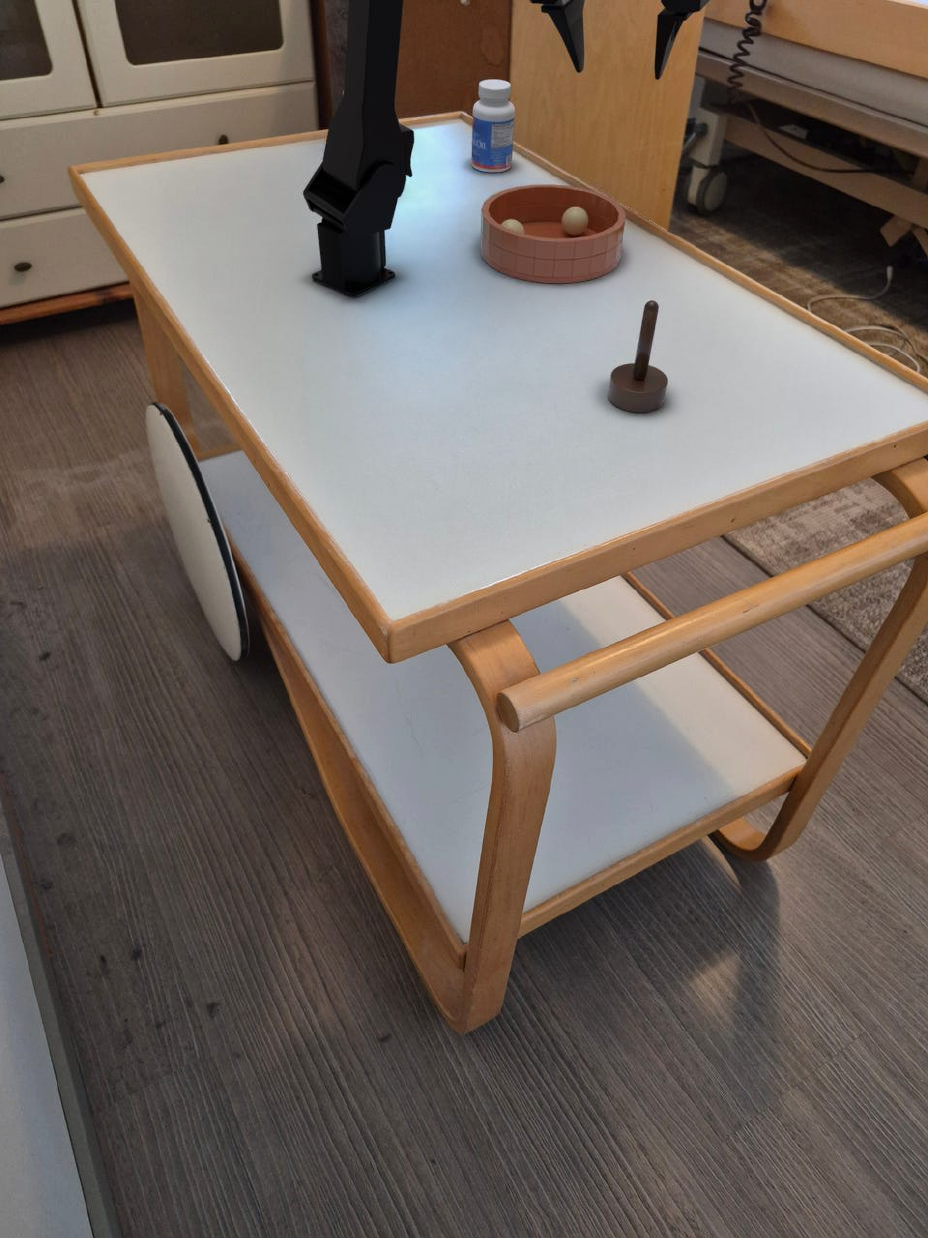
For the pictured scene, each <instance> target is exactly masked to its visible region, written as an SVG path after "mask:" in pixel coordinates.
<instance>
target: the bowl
mask: <svg viewBox="0 0 928 1238" xmlns="http://www.w3.org/2000/svg"><path fill="white" fill-rule="evenodd" d="M571 207H580V208H582V209H583V210H584V211H585V212H586V213H587V216H588V225H587V228H586V229H585V231H584V232H583V233H581V234H579V235H576V236H573V235H569V234H568V233H566V232H565V231H564V229H563V227H562V217H563V214H564V213H565V211H566V210H568V209H569V208H571ZM480 210H481V211H480V237H479V238H480V239H479V244H480V254H481V257H482V259H483V260H484V261H485V263H486V264H487V265H488V266H490V267H491V268H493V269H494V270H495V271H498V272H499V273H502V274H504V275H507V276H509V277H512V278H515V279H519V280H524V281H528V282H533V283H534V282H535V283H540V284H541V283H542V284H573V283H581V282H586V281H590V280H594V279H598V278H600V277H602V276H604V275H606V274H609V273H610V272H612V271H613V270H614V269H615V268H616V267H617V266H618V264H619V262H620V259H621V255H622V246H623V241H624V240H623V239H624V232H625V226H626V217H627V213H626V211H625V209H624V207H623V206H622V205H621V204H620V203H618V202H617V201H616V200H615V199H613V198H611V197H609V196H608V195H605V194H603V193H601V192H597V191H596V190H595V191H594V190H591V189H588V188H583V187H578V186H571V185H564V184H551V183H549V184H528V185H527V184H526V185H520V186H515V187H511V188H507V189H504V190H503V189H502V190H501V191H498V192H496V193H494V194H492V195H490V196H489V197H488V198H487V199H485V201H484V202H483V204H482V206H481V209H480ZM509 219H514V220H517V221H518V222H520V223H521V224H522V226H523V228H524V231H525V234H522V233H519V232H516V231H513V230H510V229H507V228H505V227H503V226H502V225H501V224H502V223H503V222H504V221H506V220H509Z"/></svg>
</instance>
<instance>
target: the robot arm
mask: <svg viewBox="0 0 928 1238" xmlns="http://www.w3.org/2000/svg"><path fill="white" fill-rule="evenodd" d="M710 1H711V0H660V3H661V5H662V6H663V9H661V11H660V12H659V13H657V16H656V17H657V18H656V34H655V35H656V36H655V48H654V49H655V50H654V52H655V53H654V65H653V68H654V69H653V70H654V79H655V80H657V81H659V80H660V79H661V78H662V77H663V75H664V71H665V69H666V66H667V63H668V60H669V58H670V55H671V53H672V49H673V47H674V45H675V41H676V39H677V36H678V34H679V32H680V30H681V27H682V26H683V23H684V22H686V21H688V19H689V18H690V17H691V16H692V15H693V14H694V13H698V12H701V10H703V9H704V7H705V6H707V4H708V3H709V2H710ZM585 2H586V0H529V3H531V4H535V5H541V6H540V11H541V13H543V14H547V15H548V16H549V18H550V19H551V22H552V23H553V25H554V27H555V29H556V31H557V32H558V34H559V36H560V37H561V40H562V43H563V44H564V47H565V48H566V50H567V53H568V55H569V58H570V60H571V63H572V65H573V68H574V69H575V72H576V73H578V74H579V73H582V72H583V71H584V68H585V36H584V35H585V33H584V6H585ZM404 4H405V0H349V8H348V26H347V45H346V63H345V82H344V94H343V98H342V101H341V103H340V105H339V107H338V109H337V110H336V112H335V114H334V116H333V115H332V118H331V120H330V122H329V124H328V129H327V134H326V139H325V145H324V150H323V155H322V156H323V157H322V161H321V163H320V164H319V165H318V167H317V169H316V171H315V172H314V174H313V175H312V177H310V178H311V179H310V180H309V181H308V183H307V184H306V186H305V188H304V189H303V191H302V196H303V198H304V200H305V203H306V205H307V207H308V209H309V211H311V212H312V213H314V214H316V215H318V216H320V217H321V221H320V222H318V223H317V224H316V230H317V239H318V249H319V250H318V251H319V260H320V262H319V263H320V270H318V271H315V272H313V273H311V279H312V281H314V282H317V283H319V284H322V285H323V286H326V287H329V288H330V289H333V290H336V291H337V292H340V293H343V294H344V295H346V296H349V297H352V298H356V297H358V296H361V295H363V294H365V293H367V292H369V291H371V290H373V289H375V288H377V287H380V286H381V285H383V284H385V283H388V282H390V281H392V280H394V279H395V278H396V272H395V271H393V270H392V269H388V268H386V266H387V253H386V251H387V250H386V249H387V248H386V231H387V230H391V228H392V225H393V221H394V218H395V213H396V209H397V206H398V201H399V198H401V197H402V195H403V193H404V191H405V188H406V183H407V177H409V178H412V177H413V171H412V165H411V163H412V161H411V160H412V153H413V150H414V145H415V131H414V130H413V129H411V128H409V127H408V126H407V125H404V124H402V123H400V120H399V117H398V112H397V110H396V96H397V84H398V71H399V61H400V60H399V59H400V49H401V39H402V26H403V16H404V15H403V12H404Z"/></svg>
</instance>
